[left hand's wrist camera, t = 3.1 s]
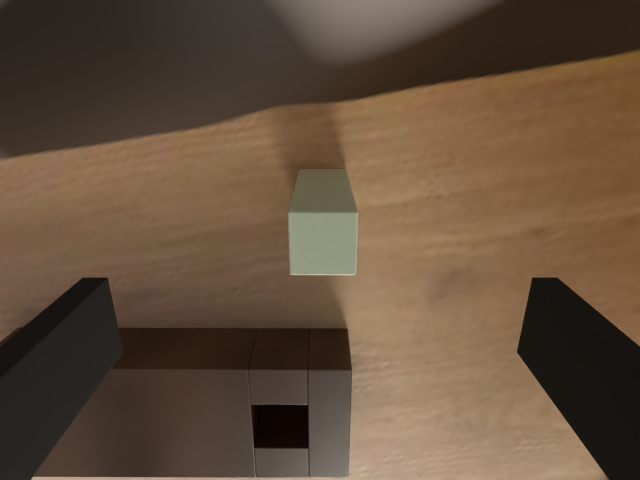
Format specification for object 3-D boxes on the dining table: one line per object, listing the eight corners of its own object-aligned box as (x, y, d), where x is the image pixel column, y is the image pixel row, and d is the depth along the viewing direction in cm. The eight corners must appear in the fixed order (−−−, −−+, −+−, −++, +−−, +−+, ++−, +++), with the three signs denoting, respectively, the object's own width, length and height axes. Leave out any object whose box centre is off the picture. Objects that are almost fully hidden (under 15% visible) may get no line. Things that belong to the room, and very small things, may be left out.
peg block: (347, 328, 32) (361, 458, 21) (344, 426, 36) (355, 582, 25) (17, 327, 33) (-143, 456, 21) (47, 425, 36) (-77, 580, 25)
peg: (346, 168, 28) (358, 211, 19) (345, 213, 29) (356, 275, 20) (299, 168, 28) (287, 211, 19) (299, 213, 29) (289, 275, 20)
